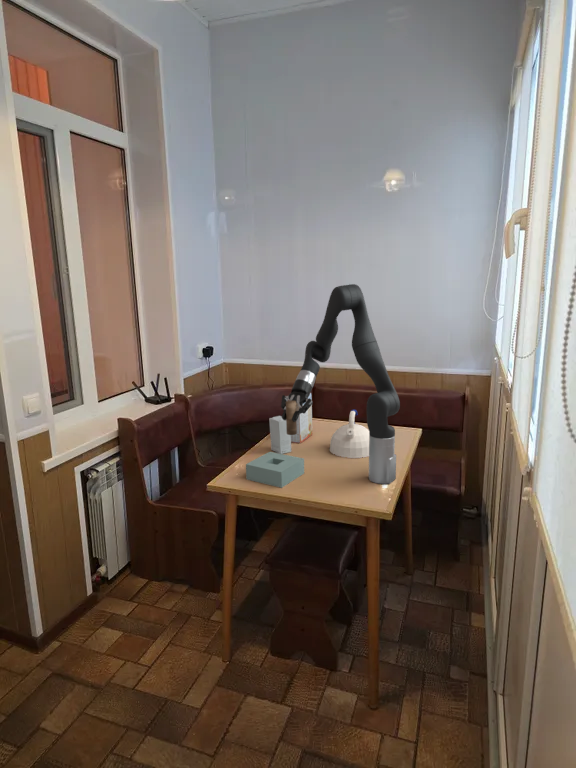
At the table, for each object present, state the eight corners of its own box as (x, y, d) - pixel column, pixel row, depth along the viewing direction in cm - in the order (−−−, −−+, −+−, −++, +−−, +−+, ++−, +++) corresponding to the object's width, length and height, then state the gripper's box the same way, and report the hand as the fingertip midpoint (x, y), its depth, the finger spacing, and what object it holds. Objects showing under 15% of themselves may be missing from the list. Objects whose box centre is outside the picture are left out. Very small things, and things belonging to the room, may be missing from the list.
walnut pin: (298, 432, 205) (297, 401, 202) (293, 435, 201) (292, 403, 199) (290, 431, 207) (289, 399, 204) (284, 434, 203) (283, 402, 201)
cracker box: (301, 433, 249) (300, 391, 244) (312, 435, 246) (312, 392, 242) (288, 442, 236) (287, 397, 232) (300, 443, 234) (299, 399, 229)
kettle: (325, 457, 217) (325, 415, 213) (333, 441, 236) (333, 403, 232) (374, 460, 212) (374, 418, 208) (377, 444, 231) (378, 405, 228)
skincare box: (291, 452, 223) (291, 419, 220) (279, 455, 220) (279, 421, 217) (281, 446, 230) (280, 414, 227) (269, 449, 227) (268, 417, 224)
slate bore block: (304, 473, 199) (304, 458, 198) (281, 487, 186) (281, 472, 185) (270, 465, 208) (269, 451, 207) (246, 479, 195) (245, 464, 193)
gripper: (285, 377, 210) (269, 413, 202) (315, 380, 202) (300, 417, 195) (292, 387, 215) (277, 422, 208) (322, 390, 207) (307, 427, 200)
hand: (288, 419), depth 201 cm, fingers closed on walnut pin, 4 cm apart
